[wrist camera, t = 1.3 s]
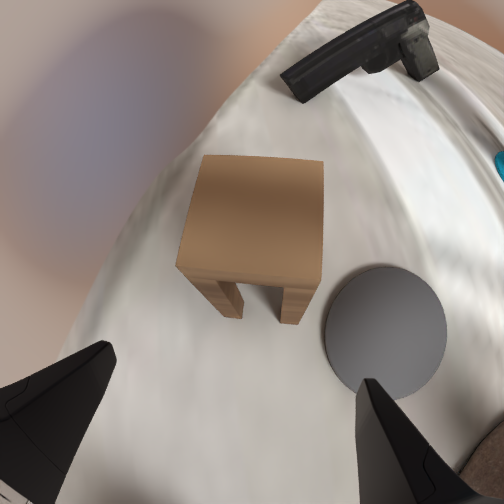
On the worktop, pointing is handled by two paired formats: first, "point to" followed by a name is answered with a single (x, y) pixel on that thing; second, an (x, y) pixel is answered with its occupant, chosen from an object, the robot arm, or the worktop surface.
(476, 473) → the sculpture
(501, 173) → the security camera
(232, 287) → the stool
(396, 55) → the handgun
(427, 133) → the worktop surface
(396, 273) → the mat
